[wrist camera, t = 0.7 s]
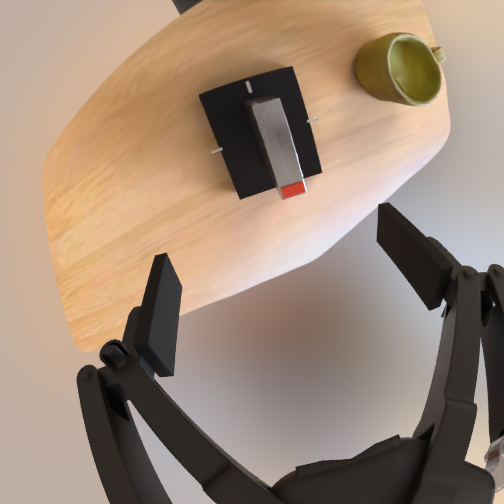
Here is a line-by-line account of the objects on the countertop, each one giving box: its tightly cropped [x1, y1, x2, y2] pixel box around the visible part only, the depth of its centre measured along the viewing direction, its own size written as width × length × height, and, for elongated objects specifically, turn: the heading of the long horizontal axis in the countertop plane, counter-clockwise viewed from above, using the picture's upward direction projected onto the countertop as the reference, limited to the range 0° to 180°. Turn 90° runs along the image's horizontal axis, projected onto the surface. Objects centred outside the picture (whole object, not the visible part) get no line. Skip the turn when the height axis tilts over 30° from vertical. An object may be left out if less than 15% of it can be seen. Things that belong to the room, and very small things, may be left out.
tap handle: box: [243, 95, 307, 200], centre depth 26 cm, size 9×2×9 cm, turn 18°
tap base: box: [199, 66, 322, 200], centre depth 30 cm, size 14×13×3 cm
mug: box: [355, 32, 446, 106], centre depth 24 cm, size 12×10×10 cm
